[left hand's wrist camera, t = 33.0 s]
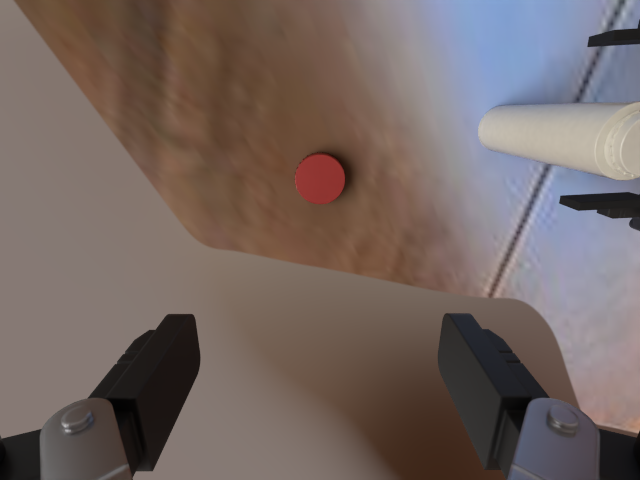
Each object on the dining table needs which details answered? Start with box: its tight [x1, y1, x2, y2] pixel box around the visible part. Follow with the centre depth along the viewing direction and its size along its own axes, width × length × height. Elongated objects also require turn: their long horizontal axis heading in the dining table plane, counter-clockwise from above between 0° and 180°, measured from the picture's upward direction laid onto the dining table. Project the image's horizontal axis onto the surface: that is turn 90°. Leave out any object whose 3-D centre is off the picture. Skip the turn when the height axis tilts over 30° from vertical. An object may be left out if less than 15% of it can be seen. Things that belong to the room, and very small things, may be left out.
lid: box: [295, 152, 346, 204], centre depth 38 cm, size 5×5×2 cm
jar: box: [478, 101, 640, 180], centre depth 29 cm, size 5×5×18 cm
